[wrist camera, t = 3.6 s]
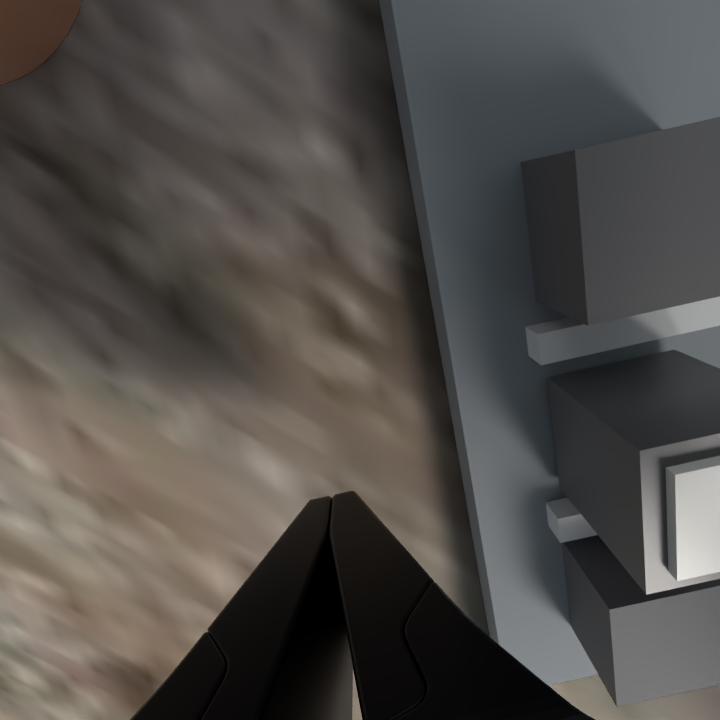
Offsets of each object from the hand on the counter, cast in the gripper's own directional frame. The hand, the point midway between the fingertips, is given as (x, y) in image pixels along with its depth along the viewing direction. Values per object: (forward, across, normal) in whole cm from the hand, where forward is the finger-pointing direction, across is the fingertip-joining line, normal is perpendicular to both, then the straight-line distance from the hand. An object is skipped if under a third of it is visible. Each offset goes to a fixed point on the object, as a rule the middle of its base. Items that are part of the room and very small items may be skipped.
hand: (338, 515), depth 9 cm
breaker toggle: (+1, -6, 0) cm, 6 cm away
